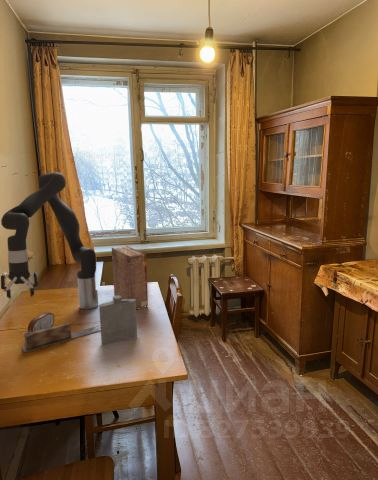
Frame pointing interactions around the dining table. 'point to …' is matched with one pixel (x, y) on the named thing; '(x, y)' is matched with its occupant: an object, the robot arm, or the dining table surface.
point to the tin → (41, 322)
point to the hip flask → (118, 320)
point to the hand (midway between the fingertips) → (20, 297)
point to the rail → (73, 335)
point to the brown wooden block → (47, 335)
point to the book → (130, 275)
